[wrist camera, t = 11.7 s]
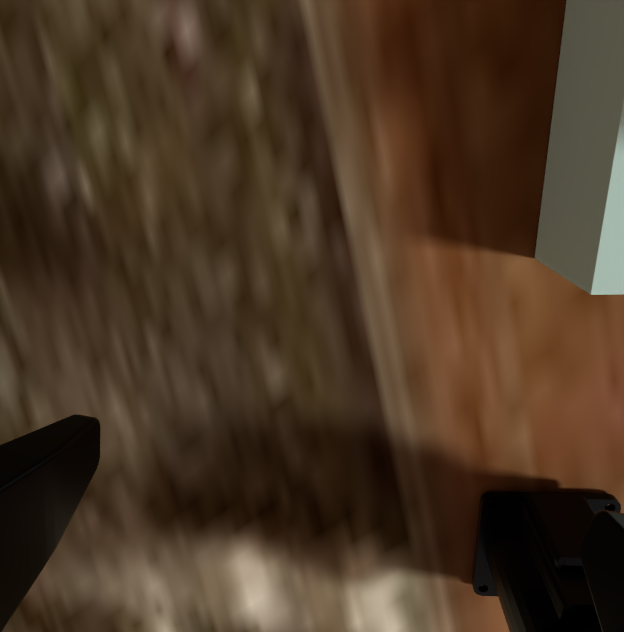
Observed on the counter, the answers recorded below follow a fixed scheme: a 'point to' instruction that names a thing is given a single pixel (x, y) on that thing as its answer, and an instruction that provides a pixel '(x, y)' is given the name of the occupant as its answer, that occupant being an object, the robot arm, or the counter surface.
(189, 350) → the counter surface
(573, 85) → the socket block
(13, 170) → the counter surface
